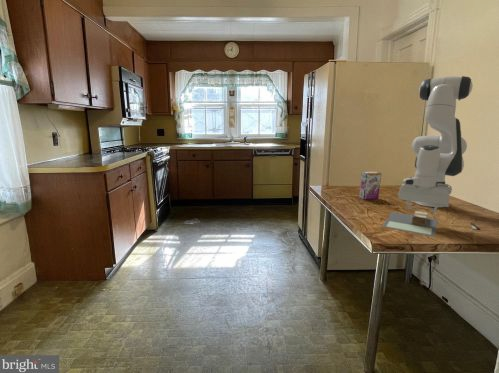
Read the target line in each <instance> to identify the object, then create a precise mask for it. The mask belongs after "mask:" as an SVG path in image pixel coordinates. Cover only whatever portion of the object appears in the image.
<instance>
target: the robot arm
mask: <svg viewBox="0 0 499 373" xmlns="http://www.w3.org/2000/svg"><path fill="white" fill-rule="evenodd" d="M472 89H473V81H472V79H471V77H469V76H465V75H464V76H463V75H462V76H444V77H436V78H428V79H427V78H426V79H424V80H423V81H422V82H421V84H420V86H419V88H418V94H419V98H420V99H421V100H422V101H426V102H427V103H426V106H425V116H424V119H425V121H426V122H427V124H428V125H429V127H430V128H431V129H433V130H435V131H436V132H439V133H440V135H421V136H417V137H415V138H414V139H413V140H412V143H411V149H412V151H413V153H414V154H415V155H416V157H415V160H414V161H415V162H414V168H415V169H416V171H415V172H414V176H411V177H407V178H406V177H405V178H404V179H403V180H402V184H401V186H400V187H399V191H398V193H397V197H398V199H399V200H405V203H406V206H407V211H412V208H413V205H410V202H411V203H415V204H417V205H420V206H424V207H431V210H430V213H431V214H435V213H436V210H437V209H438V208H449V207H450V204H449V203H450V195H451V193H453V192H452V191H453V188H452V186H451V185H449V184H448V183H446V176H449V177H455V176H458V175H459V174H461V173H462V172H463V170H464V167H465V166H464V165H465V160H464V157H463V155H464V153H465V152H466V151H467V148H468V144H467V141H466V139H464V138H463V136H462V131H461V129H462V128H461V122H460V119H458V118H456V109H457V100H458V101H461V100H464V99H466V98H467V97H469V95H470V94H471V92H472Z"/></svg>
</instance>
